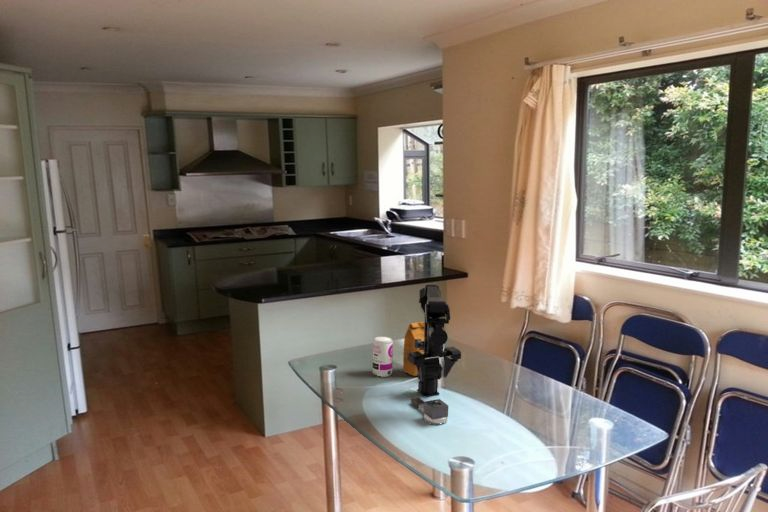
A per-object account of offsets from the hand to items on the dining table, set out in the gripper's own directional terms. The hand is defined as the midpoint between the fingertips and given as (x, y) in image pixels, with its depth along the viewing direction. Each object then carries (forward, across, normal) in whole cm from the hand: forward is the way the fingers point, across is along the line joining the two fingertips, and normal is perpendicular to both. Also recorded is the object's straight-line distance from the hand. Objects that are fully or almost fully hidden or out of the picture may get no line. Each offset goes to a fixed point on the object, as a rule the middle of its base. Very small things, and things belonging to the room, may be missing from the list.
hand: (433, 378), depth 207 cm
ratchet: (+12, +3, +2) cm, 12 cm away
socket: (+10, +3, +8) cm, 13 cm away
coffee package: (+13, -13, -35) cm, 40 cm away
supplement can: (+13, +2, -39) cm, 41 cm away
